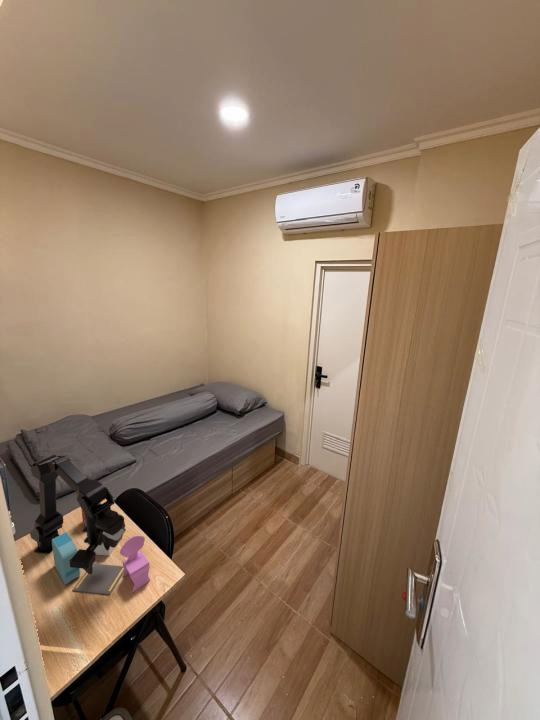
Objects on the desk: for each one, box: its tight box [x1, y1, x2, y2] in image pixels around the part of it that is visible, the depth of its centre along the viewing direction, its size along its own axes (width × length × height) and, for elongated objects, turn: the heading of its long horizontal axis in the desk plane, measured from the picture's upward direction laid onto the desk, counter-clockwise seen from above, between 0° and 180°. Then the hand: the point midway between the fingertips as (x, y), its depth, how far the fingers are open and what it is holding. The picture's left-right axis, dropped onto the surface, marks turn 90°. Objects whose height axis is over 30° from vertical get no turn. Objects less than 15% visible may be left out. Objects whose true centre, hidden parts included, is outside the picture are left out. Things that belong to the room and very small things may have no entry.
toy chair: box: [119, 535, 151, 593], centre depth 99 cm, size 8×9×15 cm
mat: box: [71, 563, 125, 596], centre depth 99 cm, size 13×10×1 cm
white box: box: [94, 543, 116, 557], centre depth 112 cm, size 6×8×7 cm
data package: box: [52, 531, 81, 585], centre depth 100 cm, size 12×4×12 cm, turn 51°
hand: (99, 561), depth 98 cm, fingers open, 9 cm apart
